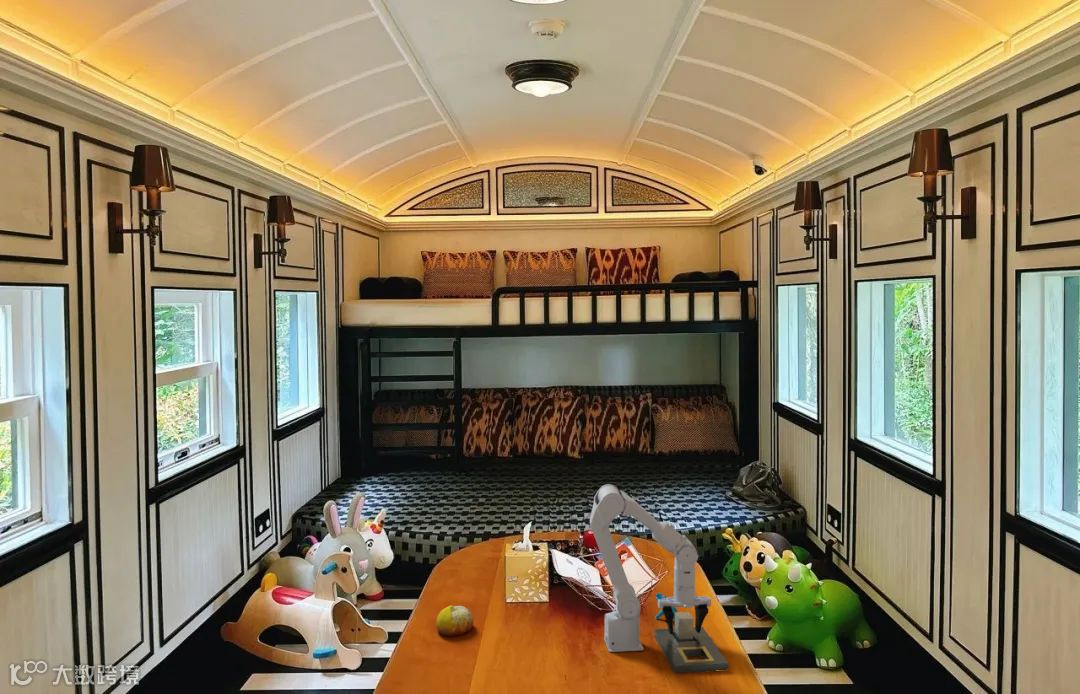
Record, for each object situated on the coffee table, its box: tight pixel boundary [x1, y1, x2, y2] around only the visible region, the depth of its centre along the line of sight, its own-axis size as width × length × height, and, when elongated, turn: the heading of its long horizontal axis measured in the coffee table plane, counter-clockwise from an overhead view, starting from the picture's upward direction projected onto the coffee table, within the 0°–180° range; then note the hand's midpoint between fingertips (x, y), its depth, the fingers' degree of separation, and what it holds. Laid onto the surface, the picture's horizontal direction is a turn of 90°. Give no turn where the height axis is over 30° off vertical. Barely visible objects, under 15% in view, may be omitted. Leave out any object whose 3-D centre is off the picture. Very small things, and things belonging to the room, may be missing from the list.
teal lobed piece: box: [654, 592, 678, 622], centre depth 208 cm, size 11×6×10 cm
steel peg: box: [674, 611, 694, 642], centre depth 193 cm, size 4×4×8 cm
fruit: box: [435, 604, 474, 637], centre depth 202 cm, size 11×10×8 cm
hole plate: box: [653, 626, 729, 675], centre depth 188 cm, size 14×20×2 cm
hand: (684, 631), depth 193 cm, fingers open, 7 cm apart
